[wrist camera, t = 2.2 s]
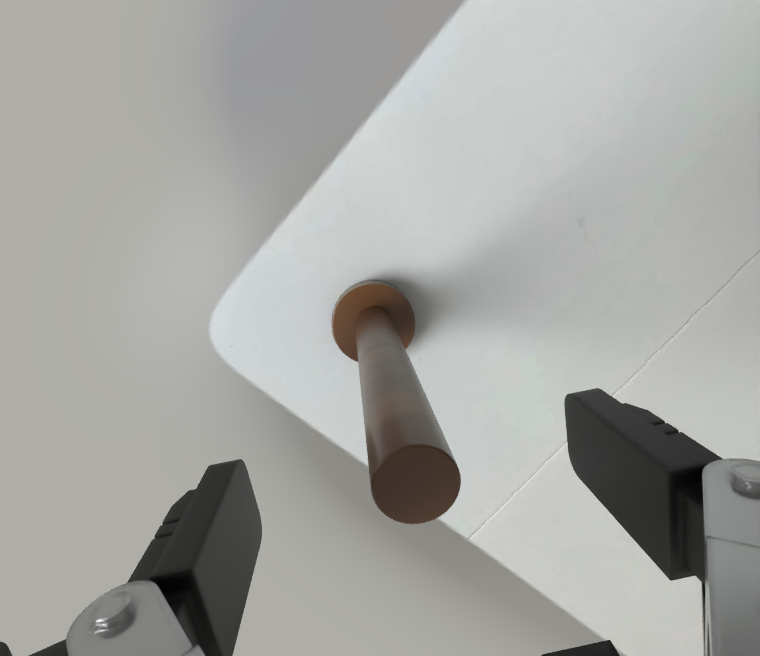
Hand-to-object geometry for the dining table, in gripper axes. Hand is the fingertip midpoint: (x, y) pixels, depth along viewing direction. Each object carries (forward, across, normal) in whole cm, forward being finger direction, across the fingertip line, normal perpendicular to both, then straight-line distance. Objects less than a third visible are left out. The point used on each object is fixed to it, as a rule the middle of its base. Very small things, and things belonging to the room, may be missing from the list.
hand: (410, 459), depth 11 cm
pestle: (+14, 0, 0) cm, 14 cm away
